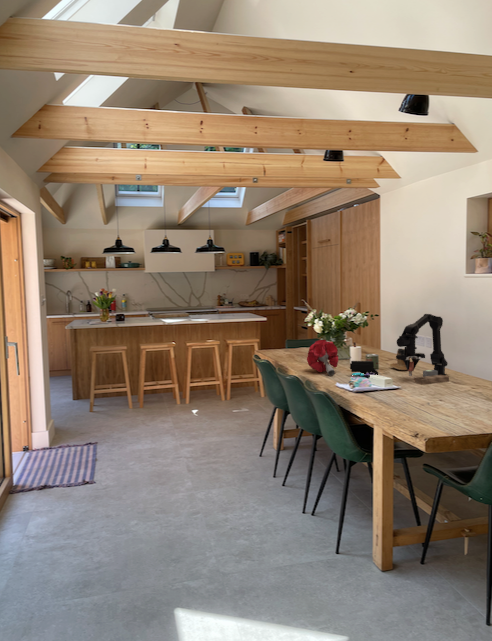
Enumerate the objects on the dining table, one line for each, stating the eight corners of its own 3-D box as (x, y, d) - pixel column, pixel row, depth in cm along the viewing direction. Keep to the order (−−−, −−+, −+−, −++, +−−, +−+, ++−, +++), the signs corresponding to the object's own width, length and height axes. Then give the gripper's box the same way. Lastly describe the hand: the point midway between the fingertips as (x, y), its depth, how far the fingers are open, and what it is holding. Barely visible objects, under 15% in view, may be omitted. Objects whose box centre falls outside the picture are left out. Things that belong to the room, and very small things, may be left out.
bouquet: (345, 383, 353) (331, 356, 377) (349, 356, 339) (334, 330, 364) (315, 387, 350) (303, 360, 374) (318, 360, 336) (305, 334, 360)
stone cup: (414, 370, 358) (414, 349, 357) (399, 371, 356) (399, 350, 354) (403, 367, 373) (404, 347, 371) (388, 368, 370) (388, 347, 369)
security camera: (378, 377, 337) (378, 362, 337) (350, 376, 341) (350, 362, 340) (377, 375, 344) (377, 360, 343) (350, 374, 348) (350, 360, 347)
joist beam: (440, 379, 327) (441, 374, 326) (448, 381, 320) (448, 376, 320) (414, 382, 319) (414, 377, 319) (422, 384, 313) (422, 379, 312)
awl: (410, 375, 329) (411, 361, 328) (415, 376, 325) (415, 362, 325) (405, 375, 328) (406, 361, 327) (409, 376, 324) (410, 362, 323)
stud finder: (433, 377, 335) (433, 369, 334) (437, 378, 330) (437, 370, 330) (422, 378, 332) (422, 370, 332) (427, 379, 328) (427, 371, 328)
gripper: (414, 343, 336) (414, 366, 337) (390, 345, 329) (390, 368, 330) (425, 345, 325) (425, 369, 327) (401, 347, 319) (401, 371, 320)
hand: (410, 369), depth 326 cm, fingers closed on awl, 4 cm apart
